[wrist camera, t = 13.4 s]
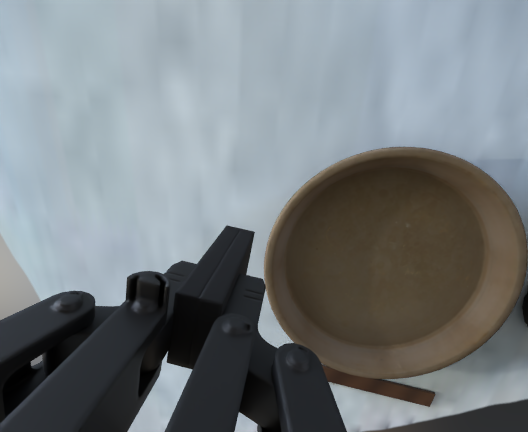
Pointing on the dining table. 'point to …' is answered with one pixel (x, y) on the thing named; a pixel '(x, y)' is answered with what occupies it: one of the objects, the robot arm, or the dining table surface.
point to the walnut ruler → (380, 387)
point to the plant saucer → (395, 262)
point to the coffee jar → (525, 309)
